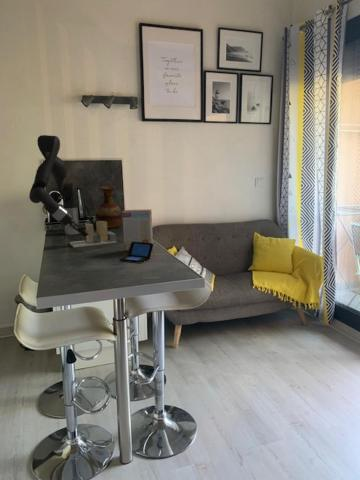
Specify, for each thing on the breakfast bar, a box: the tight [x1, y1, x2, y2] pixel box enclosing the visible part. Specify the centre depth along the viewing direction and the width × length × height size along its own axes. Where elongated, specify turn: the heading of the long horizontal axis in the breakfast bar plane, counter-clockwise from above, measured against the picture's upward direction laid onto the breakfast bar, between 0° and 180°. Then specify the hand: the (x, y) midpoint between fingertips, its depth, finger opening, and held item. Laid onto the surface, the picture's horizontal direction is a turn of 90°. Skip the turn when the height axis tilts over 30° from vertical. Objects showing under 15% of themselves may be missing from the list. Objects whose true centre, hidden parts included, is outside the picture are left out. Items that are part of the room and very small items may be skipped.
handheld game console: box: [119, 242, 154, 263], centre depth 176 cm, size 12×11×7 cm
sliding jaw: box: [85, 223, 101, 243], centre depth 217 cm, size 12×6×10 cm, turn 26°
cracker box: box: [121, 208, 154, 253], centre depth 194 cm, size 14×6×21 cm, turn 84°
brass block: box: [95, 221, 108, 242], centre depth 219 cm, size 5×5×11 cm
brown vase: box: [94, 185, 123, 229], centre depth 276 cm, size 20×20×30 cm
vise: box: [69, 230, 118, 248], centre depth 218 cm, size 12×24×5 cm, turn 116°
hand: (86, 235), depth 216 cm, fingers closed
